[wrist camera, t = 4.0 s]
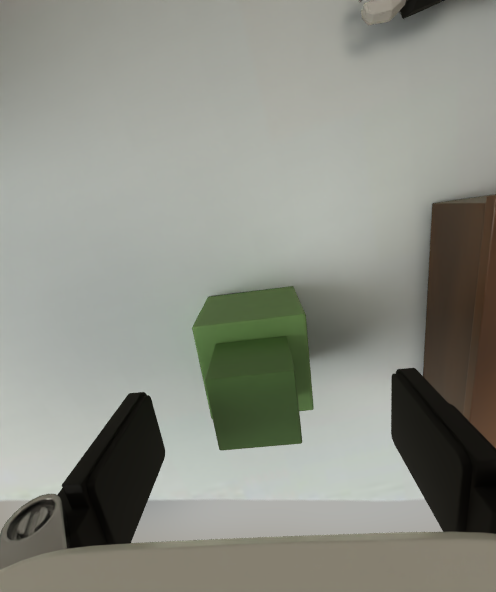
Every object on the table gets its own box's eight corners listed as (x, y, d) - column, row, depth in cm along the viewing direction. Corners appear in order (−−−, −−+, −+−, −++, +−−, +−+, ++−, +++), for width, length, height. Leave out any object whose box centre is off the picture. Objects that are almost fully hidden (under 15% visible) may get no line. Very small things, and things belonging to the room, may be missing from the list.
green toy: (221, 370, 18) (200, 470, 11) (207, 296, 17) (173, 360, 10) (300, 362, 18) (327, 460, 11) (293, 285, 16) (319, 344, 9)
